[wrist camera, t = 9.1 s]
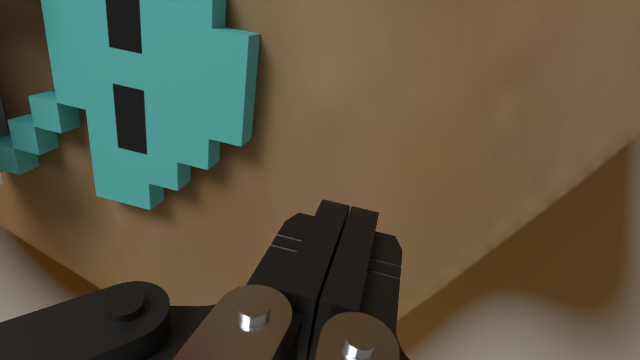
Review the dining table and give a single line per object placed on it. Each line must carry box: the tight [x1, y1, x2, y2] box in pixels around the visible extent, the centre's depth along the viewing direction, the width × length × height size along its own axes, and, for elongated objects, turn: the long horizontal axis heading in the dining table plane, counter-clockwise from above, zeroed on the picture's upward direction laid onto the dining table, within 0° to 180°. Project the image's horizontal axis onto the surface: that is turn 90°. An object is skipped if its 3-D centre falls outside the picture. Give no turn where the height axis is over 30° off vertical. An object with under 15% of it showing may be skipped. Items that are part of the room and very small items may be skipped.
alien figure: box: [0, 0, 260, 210], centre depth 25 cm, size 20×2×20 cm
